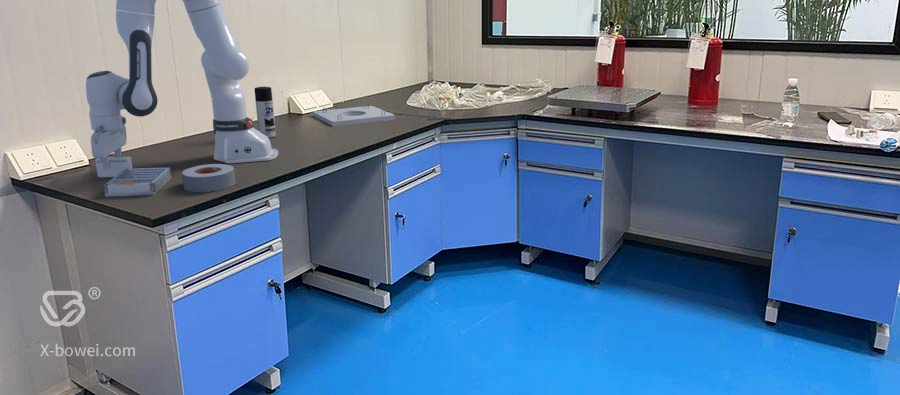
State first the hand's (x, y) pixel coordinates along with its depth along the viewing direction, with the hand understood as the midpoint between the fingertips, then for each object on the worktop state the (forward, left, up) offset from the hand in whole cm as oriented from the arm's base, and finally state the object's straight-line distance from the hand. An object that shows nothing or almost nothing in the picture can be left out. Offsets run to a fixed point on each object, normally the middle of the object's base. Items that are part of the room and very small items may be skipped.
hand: (112, 164), depth 216 cm
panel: (0, 0, -4) cm, 4 cm away
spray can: (-41, -52, -4) cm, 67 cm away
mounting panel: (-75, -87, -4) cm, 116 cm away
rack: (-12, +14, -4) cm, 19 cm away
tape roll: (-33, +14, -4) cm, 36 cm away
